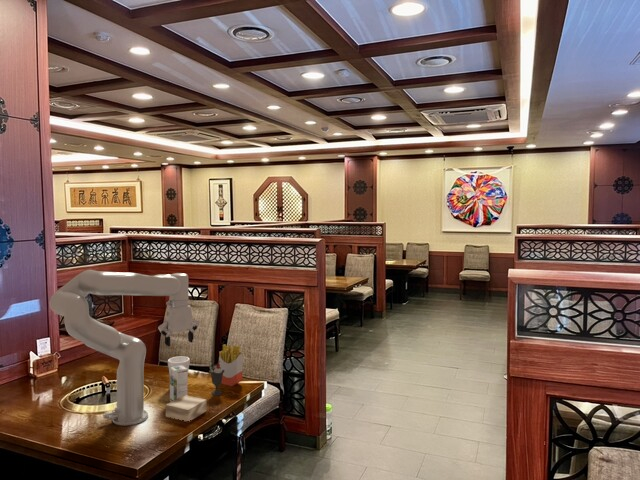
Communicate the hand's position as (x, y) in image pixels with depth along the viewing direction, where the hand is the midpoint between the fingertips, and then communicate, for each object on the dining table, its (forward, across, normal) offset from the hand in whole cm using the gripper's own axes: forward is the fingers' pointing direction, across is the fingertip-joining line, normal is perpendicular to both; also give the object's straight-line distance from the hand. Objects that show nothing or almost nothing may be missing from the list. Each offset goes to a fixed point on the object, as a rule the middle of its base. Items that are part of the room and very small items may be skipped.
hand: (179, 343), depth 195 cm
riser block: (+25, -2, -13) cm, 28 cm away
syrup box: (+25, 0, 0) cm, 25 cm away
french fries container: (+25, +26, +6) cm, 37 cm away
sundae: (+25, +16, -1) cm, 30 cm away
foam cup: (+25, +6, +15) cm, 30 cm away
